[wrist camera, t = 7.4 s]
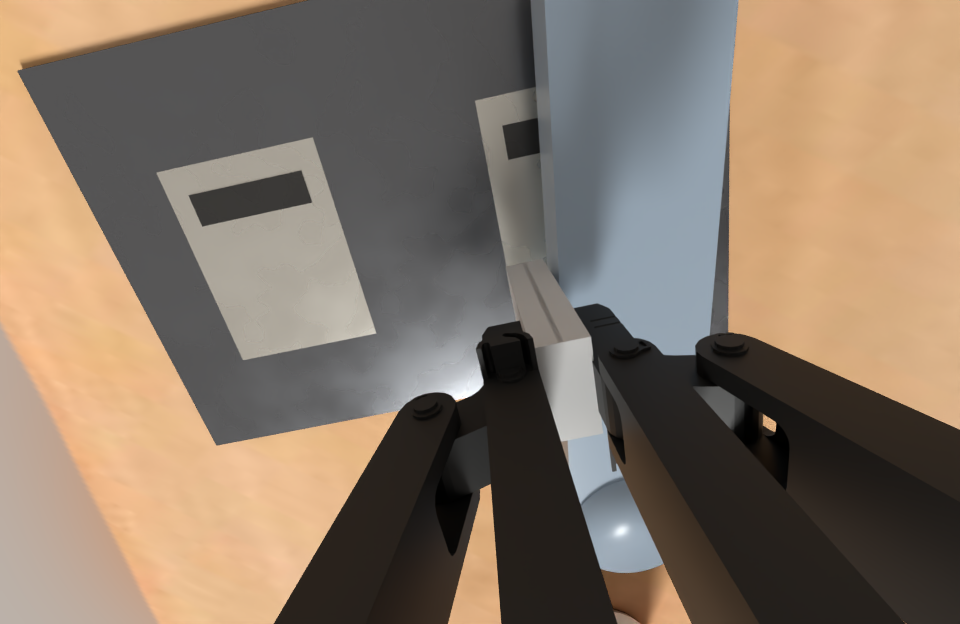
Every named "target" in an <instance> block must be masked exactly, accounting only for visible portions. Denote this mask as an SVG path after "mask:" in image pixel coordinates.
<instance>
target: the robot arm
mask: <svg viewBox="0 0 960 624" xmlns="http://www.w3.org/2000/svg"><path fill="white" fill-rule="evenodd" d="M506 272H507V277H508V283H509V288H510V293H511V298H512V303H513V308H514V313H515V318H516V321H515V322H510V323H505V324H500V325H495V326H490V327H488V328H487V329H486V330H485V332H484V333H483V335H482V341H480V342H479V343H478V345H477V347H476V352H477V356H478V361H479V365H480V369H481V373H482V377H483V386H482V387H481V389H480V390H479V391H477V392H476V393H475V394H473V395H472V396H470V397H468V398H466V399H463V400H461V401H458V402H456V401H455V399H454V398H453V397H452V396H451V395H449V394H447V393H441V392H433V393H426V394H422V395H421V396H417V397H415V398H414V399H412V400H411V401H409V402H408V403H406V404H405V405H404V406H403V407H402V408H401V410H400V411H399V412H398V414H397V416H396V417H395V419H394V421H393V423H392V424H391V426H390V428H389V429H388V431H387V433H386V434H385V436H384V438H383V440H382V441H381V443H380V445H379V446H378V448H377V450H376V451H375V453H374V455H373V456H372V458H371V460H370V462H369V463H368V465H367V467H366V468H365V470H364V472H363V473H362V475H361V477H360V478H359V480H358V482H357V484H356V485H355V487H354V489H353V490H352V492H351V494H350V495H349V497H348V499H347V501H346V502H345V504H344V506H343V507H342V509H341V511H340V512H339V514H338V516H337V517H336V519H335V521H334V523H333V524H332V526H331V528H330V529H329V531H328V533H327V534H326V536H325V538H324V539H323V541H322V543H321V545H320V546H319V548H318V550H317V551H316V553H315V555H314V556H313V558H312V560H311V562H310V563H309V565H308V567H307V568H306V570H305V572H304V573H303V575H302V577H301V578H300V580H299V582H298V584H297V585H296V587H295V589H294V590H293V592H292V594H291V595H290V597H289V599H288V601H287V602H286V604H285V606H284V607H283V609H282V611H281V612H280V614H279V616H278V617H277V619H276V621H275V623H274V624H448V621H449V617H450V613H451V609H452V605H453V601H454V597H455V594H456V590H457V586H458V582H459V578H460V574H461V570H462V566H463V562H464V558H465V555H466V551H467V547H468V543H469V539H470V535H471V531H472V527H473V523H474V519H475V516H476V512H477V508H478V504H479V500H480V489H481V488H483V487H485V486H487V485H489V484H491V491H492V504H493V517H494V531H495V544H496V557H497V570H498V584H499V597H500V610H501V623H502V624H617V620H616V617H615V614H614V611H613V607H612V604H611V601H610V598H609V595H608V591H607V588H606V585H605V582H604V578H603V575H602V572H601V569H600V566H599V562H598V559H597V556H596V553H595V549H594V546H593V543H592V540H591V536H590V533H589V530H588V527H587V524H586V520H585V517H584V514H583V511H582V507H581V504H580V501H579V498H578V495H577V491H576V488H575V485H574V482H573V478H572V475H571V472H570V469H569V465H568V462H567V459H566V456H565V453H564V449H563V446H562V443H561V442H562V441H567V440H572V439H578V438H583V437H588V436H593V435H598V434H603V428H602V420H603V422H604V424H605V426H606V428H607V435H608V443H609V451H610V459H611V467H612V472H615V471H617V468H616V464H617V465H618V467H619V469H620V471H621V473H622V475H623V478H624V480H625V482H626V484H627V486H628V488H629V490H630V493H631V495H632V497H633V499H634V501H635V503H636V505H637V508H638V510H639V512H640V514H641V516H642V518H643V520H644V523H645V525H646V527H647V529H648V531H649V533H650V535H651V538H652V540H653V542H654V544H655V546H656V548H657V550H658V553H659V555H660V557H661V559H662V561H663V563H664V565H665V568H666V570H667V572H668V574H669V576H670V578H671V580H672V583H673V585H674V587H675V589H676V591H677V593H678V595H679V598H680V600H681V602H682V604H683V606H684V608H685V610H686V613H687V615H688V617H689V619H690V621H691V623H692V624H905V623H904V622H906V623H907V624H960V430H959V429H957V428H955V427H952V426H950V425H948V424H946V423H943V422H941V421H939V420H937V419H934V418H932V417H930V416H928V415H925V414H923V413H921V412H919V411H917V410H914V409H912V408H910V407H908V406H905V405H903V404H901V403H899V402H896V401H894V400H892V399H890V398H887V397H885V396H883V395H881V394H879V393H876V392H874V391H872V390H870V389H867V388H865V387H863V386H861V385H858V384H856V383H854V382H852V381H849V380H847V379H845V378H843V377H841V376H838V375H836V374H834V373H832V372H829V371H827V370H825V369H823V368H820V367H818V366H816V365H814V364H811V363H809V362H807V361H805V360H803V359H800V358H798V357H796V356H794V355H791V354H789V353H787V352H785V351H782V350H780V349H778V348H776V347H773V346H771V345H769V344H767V343H765V342H762V341H760V340H758V339H756V338H753V337H750V336H746V335H742V334H734V333H717V334H714V335H709V336H706V337H704V338H702V339H700V340H699V341H698V342H697V344H696V345H695V355H663V354H662V353H661V351H660V350H659V349H658V348H657V347H656V346H655V345H654V344H652V343H651V342H649V341H647V340H644V339H640V338H634V337H633V336H632V335H631V334H630V333H629V331H628V330H627V329H626V328H625V327H624V325H623V324H622V323H620V320H619V319H618V318H617V317H616V316H615V314H614V313H613V312H612V311H611V309H610V308H608V307H605V306H603V305H601V304H598V303H596V304H591V305H586V306H581V307H576V308H573V307H572V305H571V304H570V302H569V300H568V299H567V297H566V295H565V294H564V292H563V291H562V289H561V287H560V286H559V284H558V283H557V281H556V279H555V278H554V276H553V275H552V273H551V271H550V270H549V268H548V266H547V265H546V263H545V262H544V260H543V259H539V260H534V261H529V262H525V263H520V264H515V265H510V266H506ZM763 414H764V415H766V416H767V417H769V418H771V419H772V420H774V421H775V422H776V432H773V431H771V430H769V429H767V428H766V427H764V426H763ZM601 418H602V420H601ZM901 619H902V620H903V621H904V622H903V621H902V620H901Z"/></svg>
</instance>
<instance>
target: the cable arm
mask: <svg viewBox="0 0 960 624" xmlns="http://www.w3.org/2000/svg"><path fill="white" fill-rule="evenodd" d="M737 11H738V0H531V16H532V32H533V48H534V64H535V80H536V96H537V112H538V128H539V144H540V160H541V176H542V192H543V208H544V224H545V240H546V256H547V266H548V268H549V270H550V271H551V273H552V275H553V276H554V278H555V279H556V281H557V283H558V284H559V286H560V287H561V289H562V291H563V292H564V294H565V295H566V297H567V299H568V300H569V302H570V304H571V305H572V307H573V308H576V307H581V306H586V305H591V304H596V303H598V304H601V305H603V306H605V307H608V308H610V309H611V311H612V312H613V313H614V314H615V316H616V317H617V318H618V319H619V320H620V323H622V324H623V325H624V327H625V328H626V329H627V330H628V331H629V333H630V334H631V335H632V336H633V337H634V338H640V339H644V340H647V341H649V342H651V343H652V344H654V345H655V346H656V347H657V348H658V349H659V350H660V351H661V353H662V354H663V355H695V345H696V344H697V342H698V341H699V340H700V339H702V338H704V337H706V336H709V335H710V325H711V313H712V302H713V290H714V278H715V267H716V255H717V244H718V232H719V220H720V209H721V197H722V186H723V174H724V162H725V151H726V139H727V127H728V116H729V104H730V93H731V81H732V69H733V58H734V46H735V34H736V23H737ZM601 420H602V418H601ZM602 428H603V434H598V435H593V436H588V437H583V438H578V439H572V440H567V441H562V442H561V443H562V446H563V449H564V453H565V456H566V459H567V462H568V465H569V469H570V472H571V475H572V478H573V482H574V485H575V488H576V491H577V495H578V498H579V501H580V504H581V507H582V511H583V514H584V517H585V520H586V524H587V527H588V530H589V533H590V536H591V540H592V543H593V546H594V549H595V553H596V556H597V559H598V562H599V566H600V569H603V570H606V571H610V572H616V573H634V572H641V571H645V570H649V569H652V568H655V567H657V566H660V565H662V564H664V563H663V561H662V559H661V557H660V555H659V553H658V550H657V548H656V546H655V544H654V542H653V540H652V538H651V535H650V533H649V531H648V529H647V527H646V525H645V523H644V520H643V518H642V516H641V514H640V512H639V510H638V508H637V505H636V503H635V501H634V499H633V497H632V495H631V493H630V490H629V488H628V486H627V484H626V482H625V480H624V478H623V475H622V473H621V471H620V469H619V467H618V465H617V464H616V468H617V471H615V472H612V467H611V459H610V451H609V443H608V435H607V428H606V426H605V424H604V422H603V420H602Z"/></svg>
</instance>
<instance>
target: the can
mask: <svg viewBox="0 0 960 624" xmlns="http://www.w3.org/2000/svg"><path fill="white" fill-rule="evenodd" d="M613 611H614V614H615V617H616V620H617V624H640V623H639V622H638V621H636V620H635V619H633V618H632V617H631V616H629V615H627V614H626V613H623V612H621V611H618V610H613Z"/></svg>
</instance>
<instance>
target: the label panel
mask: <svg viewBox="0 0 960 624" xmlns="http://www.w3.org/2000/svg"><path fill="white" fill-rule="evenodd" d="M18 73H19V75H20V77H21V79H22V81H23V83H24V85H25V86H26V88H27V90H28V92H29V94H30V96H31V98H32V100H33V102H34V103H35V105H36V107H37V109H38V111H39V113H40V115H41V117H42V118H43V120H44V122H45V124H46V126H47V128H48V130H49V132H50V133H51V135H52V137H53V139H54V141H55V143H56V145H57V147H58V149H59V150H60V152H61V154H62V156H63V158H64V160H65V162H66V164H67V165H68V167H69V169H70V171H71V173H72V175H73V177H74V179H75V180H76V182H77V184H78V186H79V188H80V190H81V192H82V194H83V195H84V197H85V199H86V201H87V203H88V205H89V207H90V209H91V211H92V212H93V214H94V216H95V218H96V220H97V222H98V224H99V226H100V227H101V229H102V231H103V233H104V235H105V237H106V239H107V241H108V242H109V244H110V246H111V248H112V250H113V252H114V254H115V256H116V257H117V259H118V261H119V263H120V265H121V267H122V269H123V271H124V273H125V274H126V276H127V278H128V280H129V282H130V284H131V286H132V288H133V289H134V291H135V293H136V295H137V297H138V299H139V301H140V303H141V304H142V306H143V308H144V310H145V312H146V314H147V316H148V318H149V320H150V321H151V323H152V325H153V327H154V329H155V331H156V333H157V335H158V336H159V338H160V340H161V342H162V344H163V346H164V348H165V350H166V351H167V353H168V355H169V357H170V359H171V361H172V363H173V365H174V366H175V368H176V370H177V372H178V374H179V376H180V378H181V380H182V382H183V383H184V385H185V387H186V389H187V391H188V393H189V395H190V397H191V398H192V400H193V402H194V404H195V406H196V408H197V410H198V412H199V413H200V415H201V417H202V419H203V421H204V423H205V425H206V427H207V429H208V430H209V432H210V434H211V436H212V438H213V440H214V442H215V444H216V445H222V444H227V443H232V442H238V441H243V440H248V439H253V438H258V437H264V436H269V435H274V434H279V433H284V432H290V431H295V430H300V429H305V428H310V427H316V426H321V425H326V424H331V423H337V422H342V421H347V420H352V419H357V418H363V417H368V416H373V415H378V414H383V413H389V412H394V411H399V410H401V408H402V407H403V406H404V405H405V404H406V403H408V402H409V401H411V400H412V399H414V398H415V397H417V396H421V395H422V394H426V393H433V392H441V393H447V394H449V395H451V396H452V397H453V398H454V399H455V400H456V399H462V398H467V397H470V396H472V395H473V394H475V393H476V392H477V391H479V390H480V389H481V387H482V386H483V377H482V373H481V369H480V365H479V361H478V356H477V352H476V347H477V345H478V343H479V342H480V341H482V335H483V333H484V332H485V330H486V329H487V328H488V327H490V326H495V325H500V324H505V323H510V322H515V321H516V318H515V313H514V308H513V303H512V298H511V293H510V288H509V283H508V277H507V272H506V266H510V265H515V264H520V263H525V262H529V261H534V260H539V259H543V260H544V262H545V263H546V265H547V256H546V240H545V224H544V208H543V192H542V176H541V160H540V144H539V128H538V112H537V96H536V80H535V64H534V48H533V32H532V16H531V0H308V1H303V2H299V3H295V4H291V5H287V6H283V7H279V8H275V9H270V10H266V11H262V12H258V13H254V14H250V15H246V16H241V17H237V18H233V19H229V20H225V21H221V22H217V23H212V24H208V25H204V26H200V27H196V28H192V29H188V30H184V31H179V32H175V33H171V34H167V35H163V36H159V37H155V38H150V39H146V40H142V41H138V42H134V43H130V44H126V45H122V46H117V47H113V48H109V49H105V50H101V51H97V52H93V53H88V54H84V55H80V56H76V57H72V58H68V59H64V60H59V61H55V62H51V63H47V64H43V65H39V66H35V67H31V68H26V69H22V70H18ZM729 124H730V104H729V116H728V127H727V139H726V151H725V162H724V174H723V186H722V197H721V209H720V220H719V232H718V244H717V255H716V267H715V278H714V290H713V302H712V313H711V325H710V335H714V334H717V333H728V267H729Z"/></svg>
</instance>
